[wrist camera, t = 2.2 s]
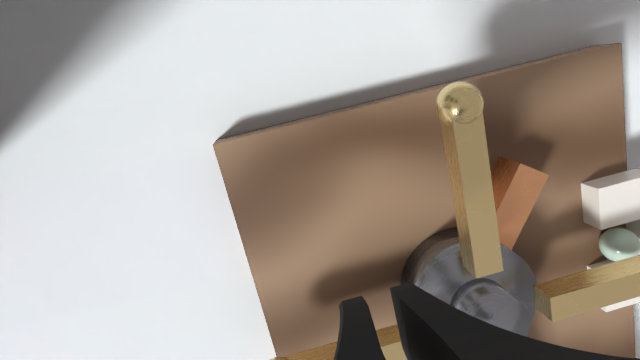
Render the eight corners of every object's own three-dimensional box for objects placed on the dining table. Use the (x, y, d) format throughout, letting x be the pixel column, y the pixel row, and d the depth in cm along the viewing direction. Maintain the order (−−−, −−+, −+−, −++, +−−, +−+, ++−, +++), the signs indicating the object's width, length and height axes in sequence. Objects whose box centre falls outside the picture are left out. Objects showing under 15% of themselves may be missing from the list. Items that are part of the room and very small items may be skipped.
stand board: (616, 366, 27) (636, 382, 26) (312, 459, 26) (314, 482, 24) (597, 45, 22) (621, 42, 20) (216, 140, 21) (212, 144, 19)
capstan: (644, 387, 26) (721, 450, 21) (308, 491, 24) (317, 580, 20) (630, 29, 20) (729, 17, 16) (198, 136, 19) (179, 154, 15)
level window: (640, 286, 24) (669, 302, 22) (589, 300, 24) (615, 318, 22) (635, 168, 22) (667, 175, 20) (580, 183, 22) (607, 192, 20)
